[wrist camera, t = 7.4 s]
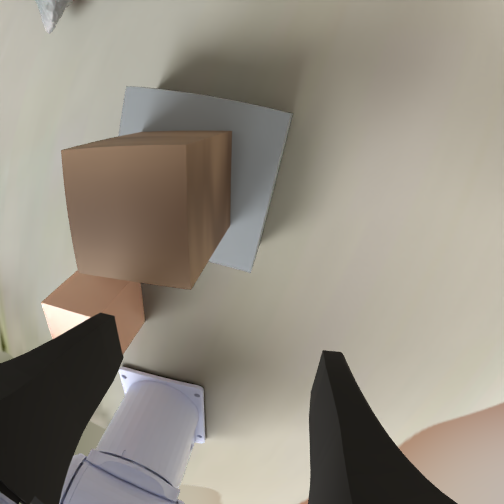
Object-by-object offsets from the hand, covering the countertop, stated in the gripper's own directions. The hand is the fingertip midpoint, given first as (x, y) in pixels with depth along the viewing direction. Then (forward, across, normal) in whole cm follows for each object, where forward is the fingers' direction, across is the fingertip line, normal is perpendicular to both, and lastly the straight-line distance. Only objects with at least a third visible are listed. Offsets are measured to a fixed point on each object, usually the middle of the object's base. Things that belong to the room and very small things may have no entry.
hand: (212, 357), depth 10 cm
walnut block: (+7, +3, -4) cm, 9 cm away
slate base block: (+11, +3, -4) cm, 12 cm away
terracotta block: (+10, +10, +6) cm, 16 cm away
